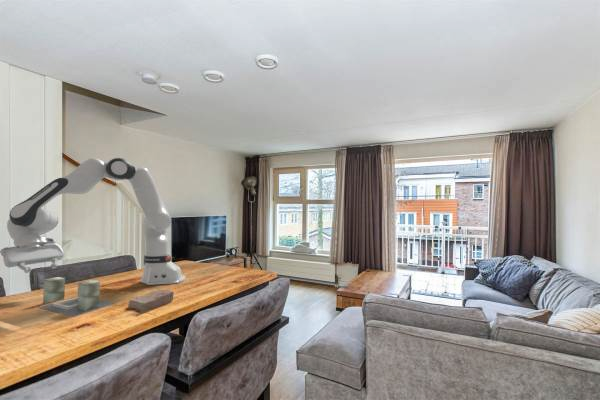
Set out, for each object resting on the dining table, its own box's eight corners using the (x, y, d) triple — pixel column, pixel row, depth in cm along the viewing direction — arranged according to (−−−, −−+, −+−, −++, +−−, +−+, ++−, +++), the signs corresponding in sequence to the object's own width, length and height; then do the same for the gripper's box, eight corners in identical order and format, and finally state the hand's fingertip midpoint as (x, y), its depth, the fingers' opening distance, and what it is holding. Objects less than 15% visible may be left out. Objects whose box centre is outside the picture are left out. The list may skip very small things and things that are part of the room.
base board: (81, 298, 125) (82, 293, 125) (116, 306, 117) (116, 300, 117) (37, 310, 110) (37, 305, 110) (73, 320, 102) (73, 314, 102)
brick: (142, 314, 110) (142, 301, 110) (126, 310, 113) (127, 299, 113) (174, 301, 126) (174, 290, 126) (159, 298, 128) (160, 288, 129)
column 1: (56, 300, 123) (57, 276, 123) (64, 301, 121) (65, 278, 121) (42, 303, 118) (44, 279, 118) (50, 305, 116) (51, 280, 116)
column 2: (90, 304, 115) (91, 279, 115) (98, 306, 113) (99, 281, 113) (77, 308, 110) (78, 282, 110) (85, 310, 108) (86, 284, 108)
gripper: (1, 243, 116) (13, 269, 113) (59, 238, 135) (71, 260, 132) (-5, 253, 118) (7, 279, 114) (53, 247, 137) (64, 269, 133)
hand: (42, 269), depth 123 cm, fingers open, 8 cm apart
